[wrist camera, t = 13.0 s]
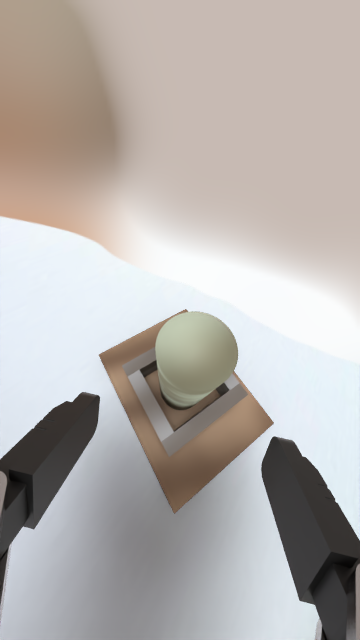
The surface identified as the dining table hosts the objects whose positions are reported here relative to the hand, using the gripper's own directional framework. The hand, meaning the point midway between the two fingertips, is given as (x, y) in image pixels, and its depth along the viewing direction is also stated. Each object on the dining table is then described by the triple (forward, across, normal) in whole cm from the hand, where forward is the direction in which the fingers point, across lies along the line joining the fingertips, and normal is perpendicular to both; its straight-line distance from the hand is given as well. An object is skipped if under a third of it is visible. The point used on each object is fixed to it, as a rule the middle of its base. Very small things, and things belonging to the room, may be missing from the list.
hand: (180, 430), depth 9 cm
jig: (+12, 0, +6) cm, 13 cm away
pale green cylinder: (+11, 0, +5) cm, 12 cm away
